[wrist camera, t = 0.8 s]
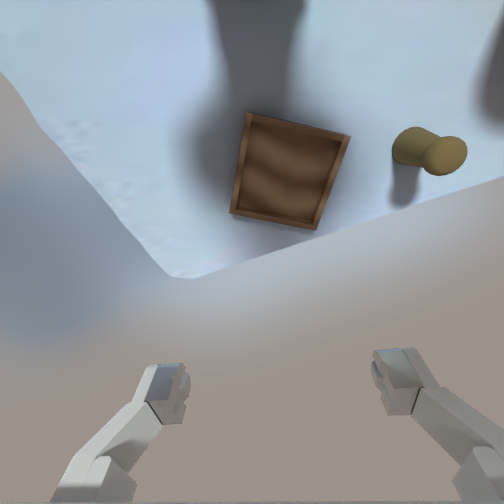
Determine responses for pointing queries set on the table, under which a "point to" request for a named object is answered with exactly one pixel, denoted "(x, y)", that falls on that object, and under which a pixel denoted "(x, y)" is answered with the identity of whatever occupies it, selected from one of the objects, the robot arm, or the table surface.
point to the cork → (429, 151)
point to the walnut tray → (285, 171)
